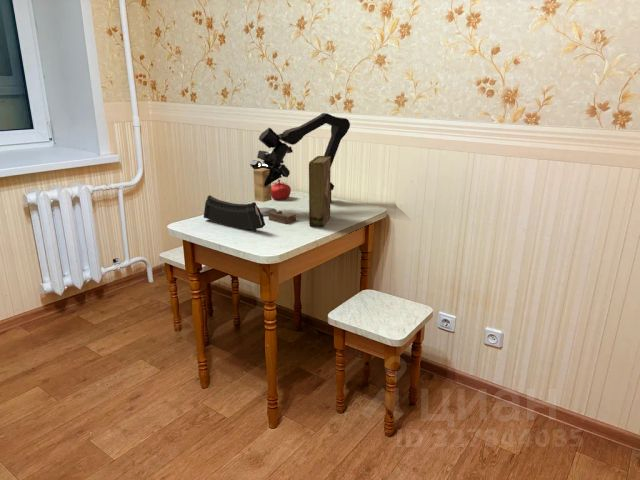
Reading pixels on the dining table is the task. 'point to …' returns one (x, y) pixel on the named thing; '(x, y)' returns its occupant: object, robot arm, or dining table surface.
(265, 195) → the oak block
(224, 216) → the magazine
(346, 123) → the robot arm
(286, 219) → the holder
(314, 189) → the book
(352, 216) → the dining table surface
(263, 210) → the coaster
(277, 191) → the pomegranate
